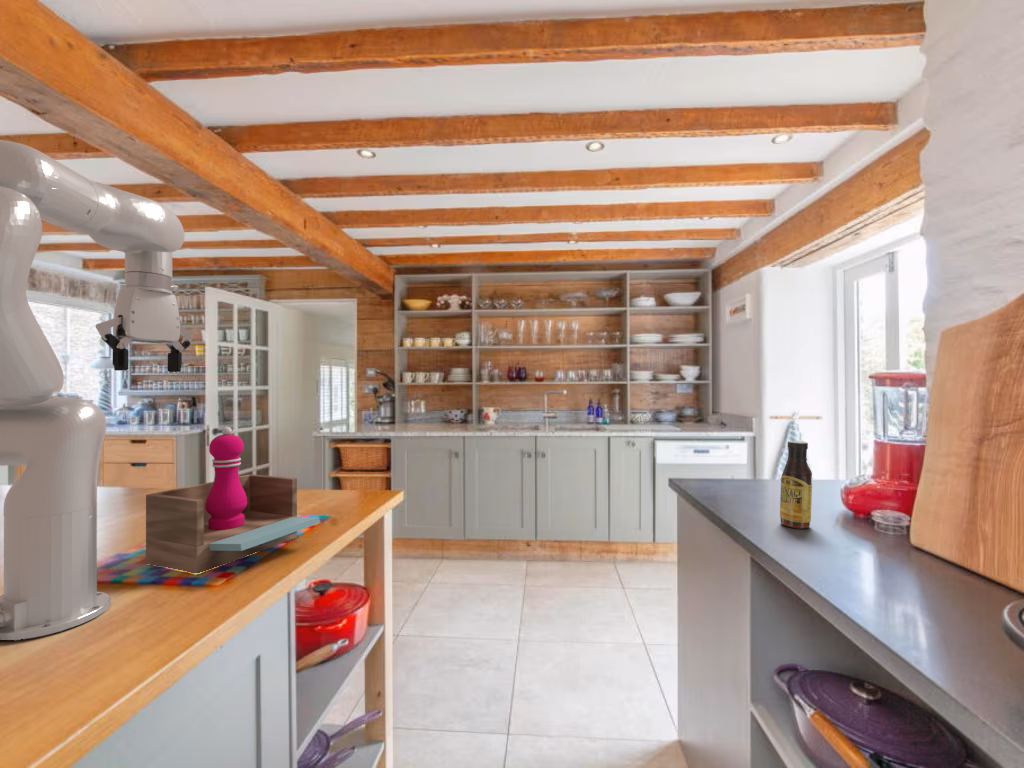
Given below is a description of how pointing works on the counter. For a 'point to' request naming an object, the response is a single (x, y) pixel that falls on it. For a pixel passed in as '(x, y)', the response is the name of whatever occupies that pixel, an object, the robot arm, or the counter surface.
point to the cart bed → (184, 522)
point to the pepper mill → (226, 483)
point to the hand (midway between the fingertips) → (149, 371)
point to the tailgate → (264, 534)
